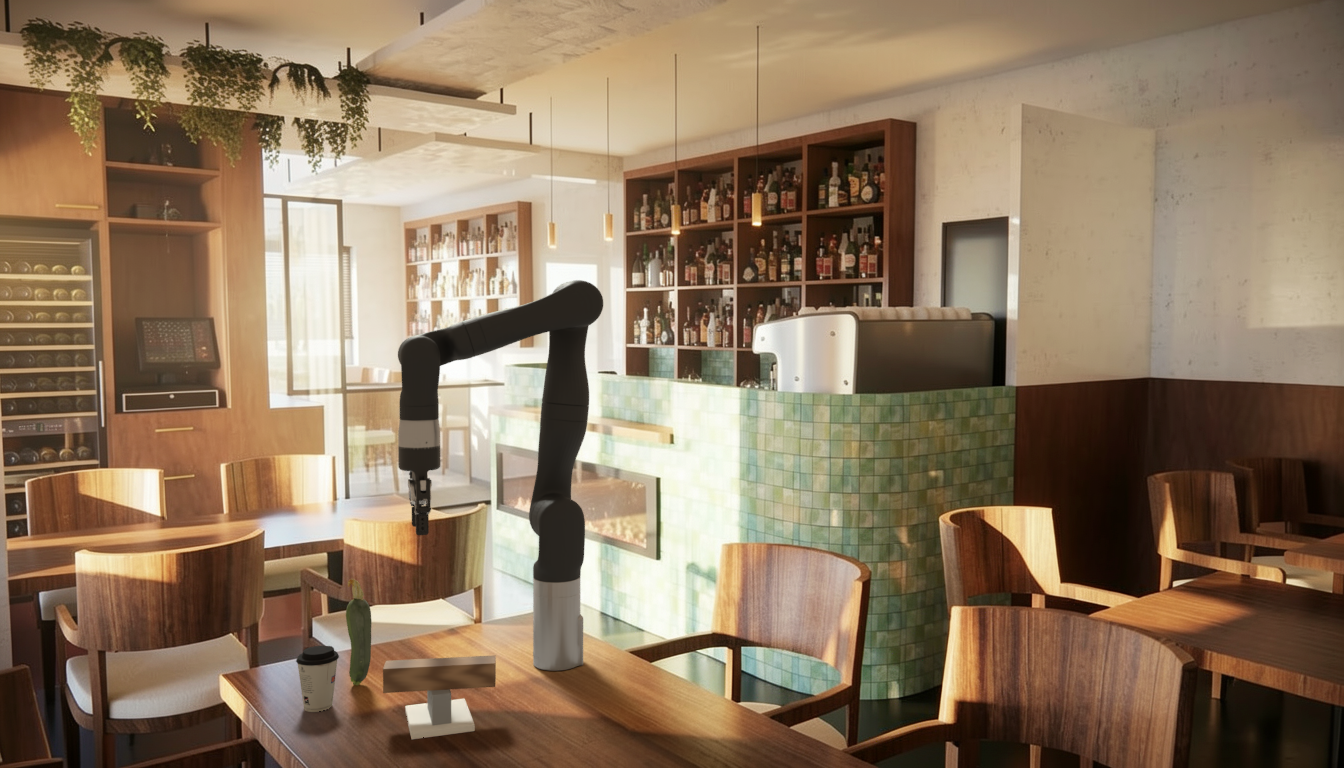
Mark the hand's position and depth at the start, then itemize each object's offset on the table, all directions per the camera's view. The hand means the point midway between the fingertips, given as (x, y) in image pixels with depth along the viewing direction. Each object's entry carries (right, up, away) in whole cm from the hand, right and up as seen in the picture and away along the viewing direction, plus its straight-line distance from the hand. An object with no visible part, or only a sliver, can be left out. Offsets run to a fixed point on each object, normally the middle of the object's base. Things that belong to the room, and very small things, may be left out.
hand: (419, 530), depth 176 cm
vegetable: (-10, -28, -2) cm, 30 cm away
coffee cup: (-14, -29, -12) cm, 34 cm away
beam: (+8, -23, -18) cm, 31 cm away
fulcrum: (+8, -29, -18) cm, 35 cm away
